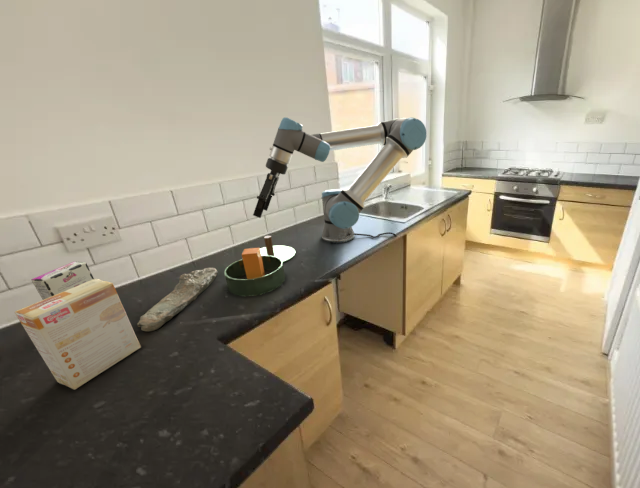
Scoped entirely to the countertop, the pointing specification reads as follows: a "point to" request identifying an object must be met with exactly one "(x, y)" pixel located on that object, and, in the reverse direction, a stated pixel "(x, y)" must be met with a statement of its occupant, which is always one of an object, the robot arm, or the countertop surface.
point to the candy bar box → (62, 279)
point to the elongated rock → (177, 298)
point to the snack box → (253, 263)
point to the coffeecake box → (80, 331)
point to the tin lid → (277, 250)
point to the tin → (255, 284)
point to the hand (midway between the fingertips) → (260, 212)
